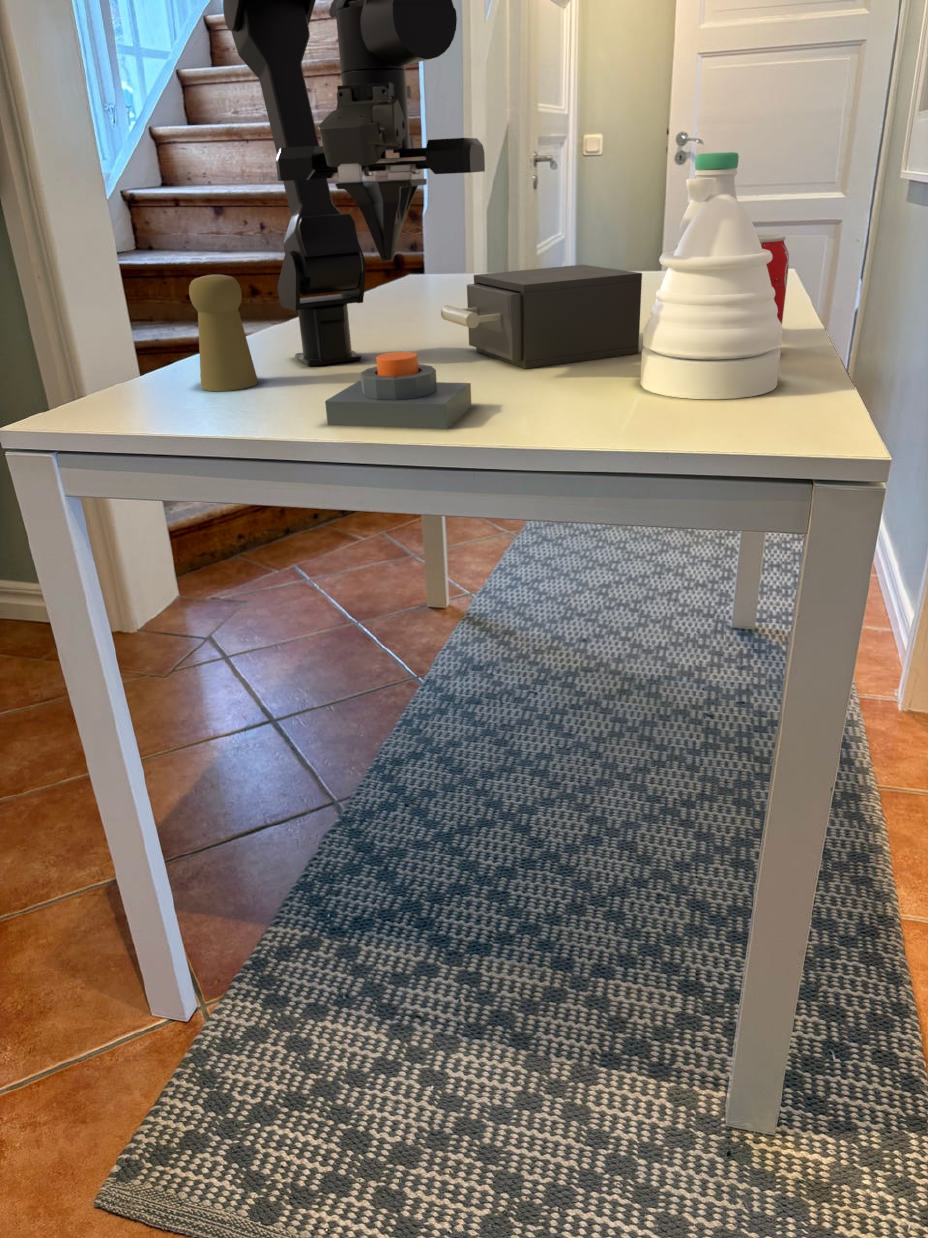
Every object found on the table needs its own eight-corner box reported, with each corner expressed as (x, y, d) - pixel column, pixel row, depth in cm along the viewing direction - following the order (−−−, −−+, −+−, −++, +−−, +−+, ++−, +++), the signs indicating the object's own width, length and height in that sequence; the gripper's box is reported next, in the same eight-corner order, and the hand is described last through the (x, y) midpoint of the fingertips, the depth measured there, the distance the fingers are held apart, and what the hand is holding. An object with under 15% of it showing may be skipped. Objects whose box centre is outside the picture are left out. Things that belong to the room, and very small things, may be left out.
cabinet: (524, 368, 97) (524, 284, 93) (476, 350, 107) (473, 274, 104) (638, 353, 102) (642, 272, 98) (581, 337, 112) (582, 264, 109)
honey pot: (627, 395, 84) (636, 182, 76) (654, 367, 95) (664, 178, 87) (770, 402, 80) (796, 176, 72) (782, 372, 90) (805, 172, 82)
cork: (208, 393, 92) (189, 280, 87) (195, 383, 97) (176, 275, 92) (265, 385, 95) (249, 275, 90) (250, 376, 100) (234, 270, 95)
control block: (327, 425, 79) (322, 379, 77) (361, 403, 86) (357, 360, 84) (446, 429, 76) (444, 382, 74) (471, 406, 83) (470, 362, 81)
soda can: (781, 361, 95) (796, 238, 90) (713, 361, 96) (723, 240, 91) (775, 348, 101) (788, 233, 96) (710, 348, 103) (719, 235, 97)
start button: (372, 379, 78) (370, 359, 77) (386, 371, 81) (384, 351, 81) (411, 380, 77) (409, 359, 77) (424, 371, 80) (422, 351, 80)
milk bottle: (744, 336, 109) (762, 150, 100) (724, 347, 103) (741, 151, 94) (683, 332, 113) (695, 153, 103) (660, 343, 107) (671, 154, 98)
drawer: (476, 365, 95) (473, 298, 92) (435, 349, 105) (431, 287, 102) (618, 346, 101) (621, 282, 98) (568, 332, 111) (568, 274, 108)
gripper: (235, 73, 75) (261, 271, 82) (447, 56, 70) (456, 268, 77) (292, 82, 85) (312, 259, 92) (483, 67, 80) (488, 255, 87)
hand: (387, 260), depth 87 cm, fingers closed
